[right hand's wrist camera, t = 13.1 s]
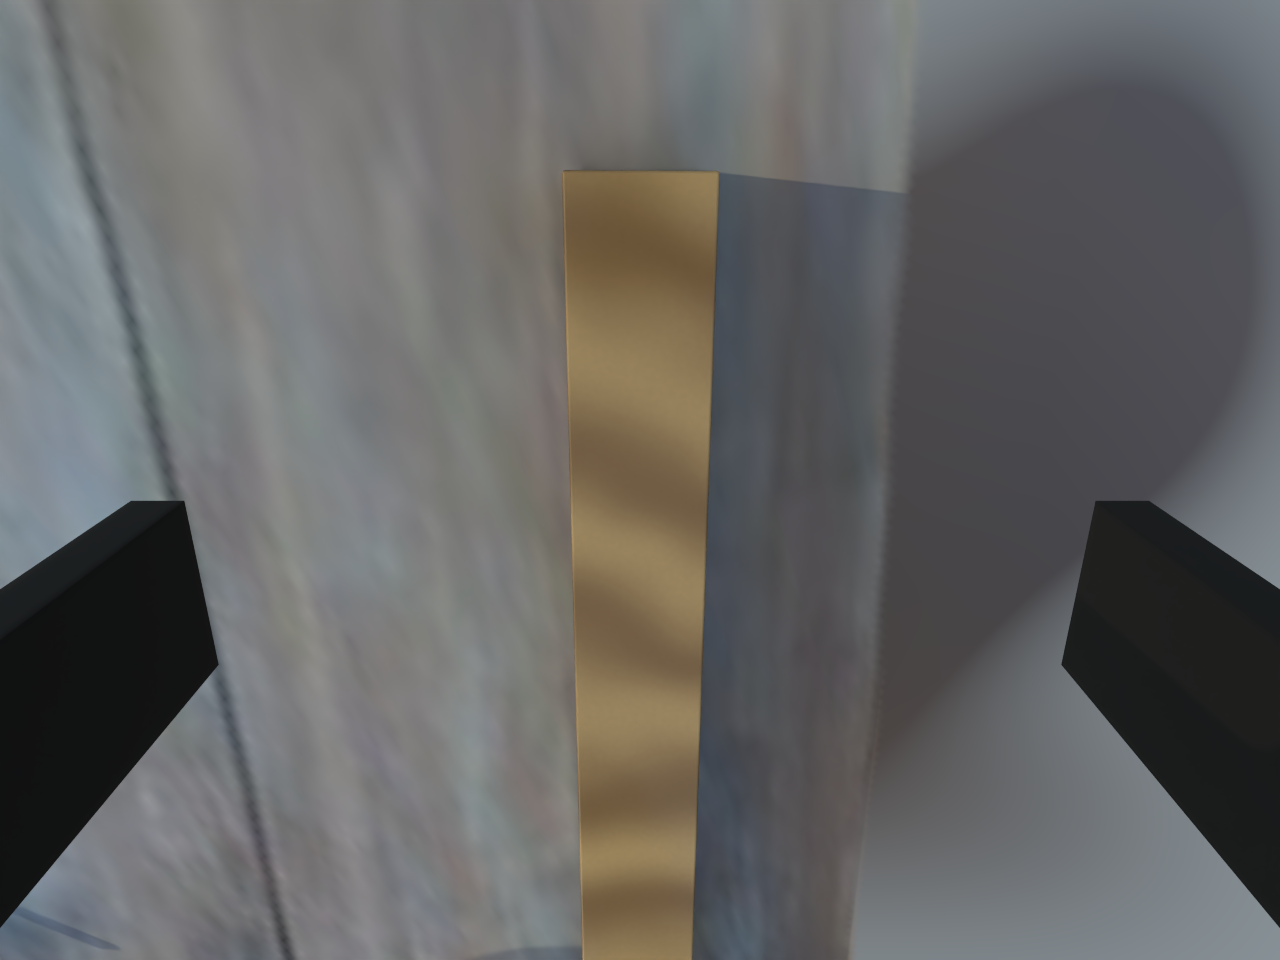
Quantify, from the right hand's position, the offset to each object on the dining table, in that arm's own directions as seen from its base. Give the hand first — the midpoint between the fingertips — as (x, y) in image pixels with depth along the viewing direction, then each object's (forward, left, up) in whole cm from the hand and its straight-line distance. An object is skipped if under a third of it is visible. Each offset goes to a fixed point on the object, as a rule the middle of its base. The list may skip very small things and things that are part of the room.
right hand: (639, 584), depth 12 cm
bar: (+16, +28, -24) cm, 40 cm away
